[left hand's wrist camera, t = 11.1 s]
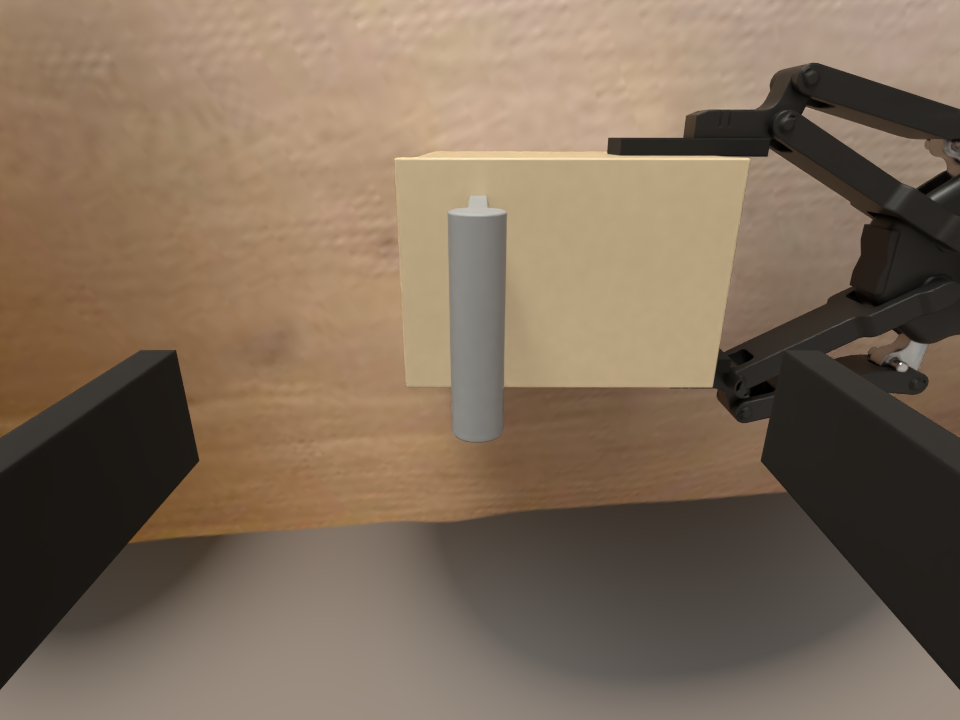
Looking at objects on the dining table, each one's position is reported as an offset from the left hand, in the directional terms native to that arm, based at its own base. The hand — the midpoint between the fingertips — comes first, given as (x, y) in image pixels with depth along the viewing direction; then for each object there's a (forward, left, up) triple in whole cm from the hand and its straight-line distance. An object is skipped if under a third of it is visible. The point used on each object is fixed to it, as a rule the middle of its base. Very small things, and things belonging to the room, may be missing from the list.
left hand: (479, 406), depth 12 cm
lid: (+4, 0, -13) cm, 13 cm away
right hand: (+6, 0, -16) cm, 18 cm away
